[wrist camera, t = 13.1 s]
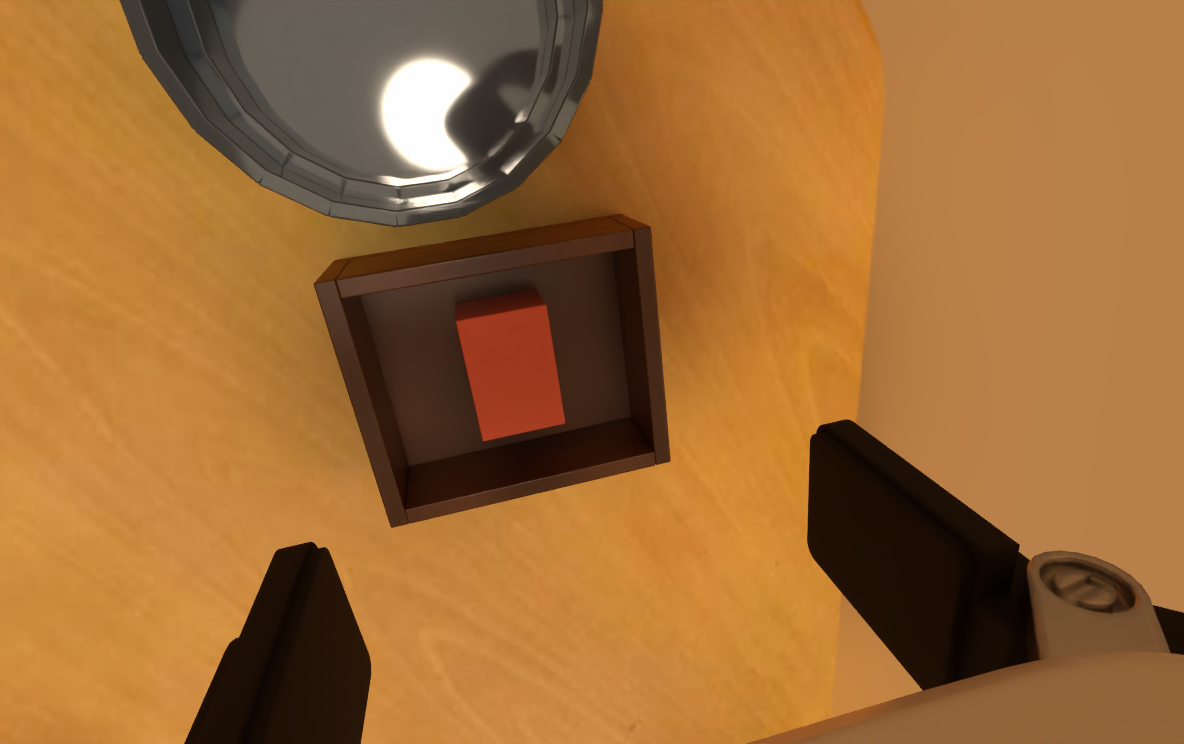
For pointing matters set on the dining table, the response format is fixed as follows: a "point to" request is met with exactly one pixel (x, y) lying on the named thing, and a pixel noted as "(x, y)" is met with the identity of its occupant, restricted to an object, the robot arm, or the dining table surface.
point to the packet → (510, 363)
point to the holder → (439, 378)
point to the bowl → (375, 94)
